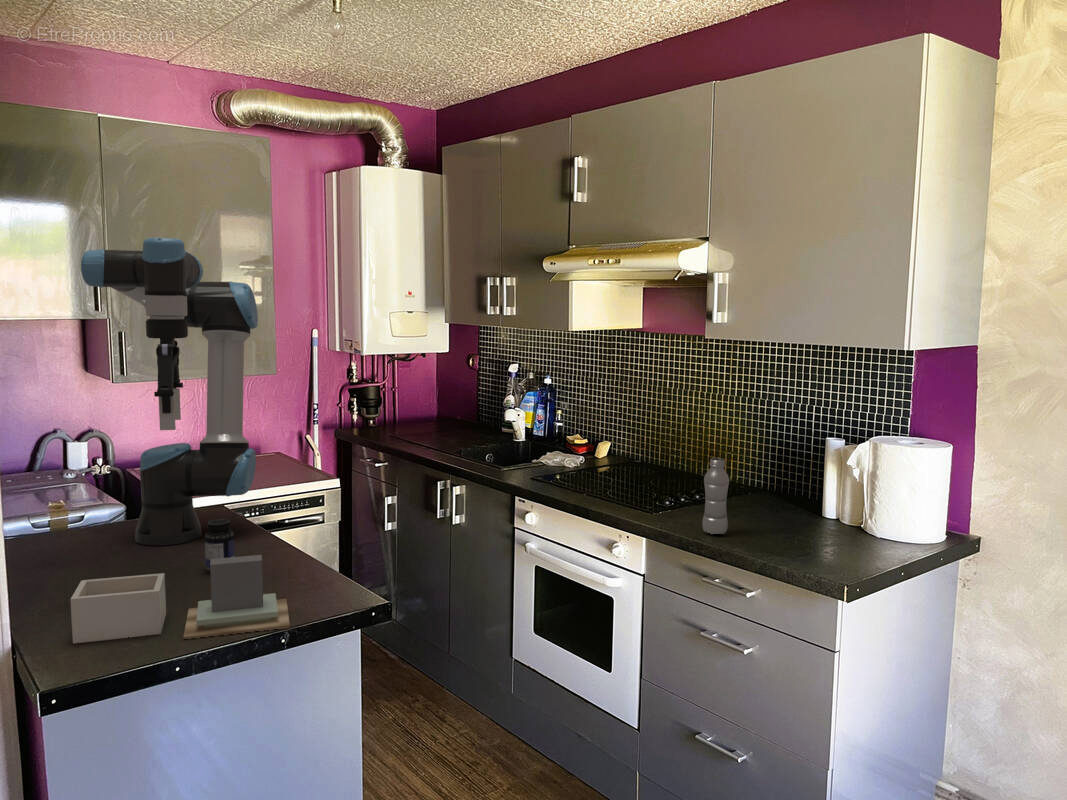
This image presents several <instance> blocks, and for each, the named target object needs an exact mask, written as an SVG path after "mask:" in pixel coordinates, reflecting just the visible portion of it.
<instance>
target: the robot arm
mask: <svg viewBox="0 0 1067 800" xmlns="http://www.w3.org/2000/svg"><path fill="white" fill-rule="evenodd" d="M80 260H81V261H80V272H81V277H82V279H83V281H84V283H85V284H86V285H87V286H89V287H93V288H94V287H97V288H100V289H101V288H111V289H114V290H115V291H117V292H119V293H120V294H123V295H124V296H125V297H128V298H129V299H131V300H133V301H135V302H137V303H139V304H141V305H142V306H143V307H144V309H145V315H146V316H147V317H149V318H147V319H146V320H145V332H146V333H145V335H146V338H148V339H158V340H159V343H157V346H156V349H155V354H156V363H157V364H156V365H157V389H156V391H154V393H153V394H154V398H156V397H158V413H159V414H158V416H159V419H158V420H159V431H175V430H176V421H180V420H182V416H181V415H182V413H181V412H182V411H181V388H182V389H183V388H184V382H181V379H180V368H179V365H180V346H178V341H177V340H176V339H186V338H187V337H188V336H189V329H188V328H195V329H197V328H198V329H199V328H200V329H201V335H202V336H203V337H204V338H205V339H206V340H207V373H206V375H207V377H206V378H207V383H206V384H207V385H206V387H207V389H206V429H205V430H206V435H205V436H204V438H203V439H202V440H200V441H199V449H192V446H191V444H190V443H188V442H186V443H184V442H178V443H172V444H165V445H159V446H156V447H152V448H149V449H146V450H144V451H143V452H142V453H141V454H140V459H139V461H140V464H139V465H140V468H139V470H138V471H139V472H140V474H139V475H140V478H139V479H140V493H141V496H140V497H141V511H140V514H139V518H138V521H137V525H136V528H135V530H134V531H135V533H134V536H135V542H136V543H138V544H140V545H145V546H152V547H153V546H156V547H157V546H171V545H172V546H173V545H178V544H184V543H188V542H191V541H195V540H197V539H198V538H200V537H201V536H202V525H201V523H200V520H199V517H198V515H197V512H196V509H195V508H194V507H195V506H194V500H193V497H231V496H243V495H245V494H247V493H248V492H249V491H250V488H251V487H252V484H253V481H254V476H255V472H256V464H257V459H256V457H257V456H256V455H257V454H256V453H257V452H256V451H255V449H253V448H252V447H251V448H249V447H250V443H249V440H248V439H246V438H245V437H244V434H243V432H244V431H243V429H244V427H243V426H244V425H243V424H244V423H243V422H244V373H245V372H244V369H245V363H244V360H245V341H247V340H248V339H249V338H250V337H251V331H252V330H254V329H256V328H257V327H258V322H259V321H258V320H259V319H258V315H259V314H258V307H257V301H256V298H255V293H254V291H253V289H252V287H251V286H250V285H249V284H248V283H246V282H236V281H235V282H234V281H201V280H202V278H203V275H204V268H203V264H202V262H201V261H200V260H199V259H198V257H197V256H195V255H193V254H192V253H191V252H187V251H186V248H185V242H184V241H183V240H182V239H180V238H171V237H147V238H145V239H144V240H143V242H142V250H121V249H104V248H101V249H88V250H86V251H85V252H84V253H83V254H82V257H81V259H80ZM251 329H252V330H251Z"/></svg>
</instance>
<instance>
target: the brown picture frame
mask: <svg viewBox="0 0 1067 800" xmlns="http://www.w3.org/2000/svg"><path fill="white" fill-rule="evenodd" d="M276 600H277V607H278V617H271V620H267V621H258V622H250V623H241V624H232V625H223V626H215V627H206V628H205V625H200V626H197V622H196V620H197V610H198V607H190V608H188V610H187V616H186V620H185V626H184V632H183V640H184V639H189V640H192V639H191V638H197V639H201V638H200V637H206V638H209V637H208V636H215V637H220V636H219V635H224V636H230V635H229V634H233V635H238V634H237V633H242V634H246V633H245V632H251V633H255V632H254V631H260V632H267V631H266V630H269V631H274V630H273V629H278V630H286V629H290V628H291V625H290V617H289V616H290V615H289V609H288V602H287V598H281V599H279V598H278V599H276ZM264 630H265V631H264Z"/></svg>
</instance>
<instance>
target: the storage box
mask: <svg viewBox="0 0 1067 800" xmlns="http://www.w3.org/2000/svg"><path fill="white" fill-rule="evenodd" d="M165 580H166V577H165V572H162V573H152V574H151V573H150V574H141V575H129V576H118V577H117V576H116V577H115V576H114V577H107V578H93V579H84V580H81V581H80V582H79V584H78V586H77V588H76V589H75V591H74V593H73V594H72V596H71V597H70V615H71V632H72V633H71V634H72V644H81V643H90V642H91V643H92V642H98V641H99V642H100V641H110V640H117V639H128V637H129V638H136V637H146V635H147V636H153V635H155V636H156V635H162V633H163V632H162V631H163V627H164V624H165V620H166V615H167V603H166V602H167V601H166V597H167V596H166V581H165Z"/></svg>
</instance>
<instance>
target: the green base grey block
mask: <svg viewBox="0 0 1067 800" xmlns="http://www.w3.org/2000/svg"><path fill="white" fill-rule="evenodd" d="M209 574H210V598H211V599H206V600H200V601H199V600H198V602H197V608H198V610H197V620H196V622H197V626H200V625H205V628H206V627H215V626H223V625H232V624H241V623H250V622H258V621H267V620H271V617H278V607H277V600H278V599H277V594H276V593H274V592H273V593H264V581H263V579H264V578H263V556H262V554H256V555H245V556H242V555H241V556H235V557H230V558H219V559H211V561H210V573H209Z"/></svg>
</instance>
